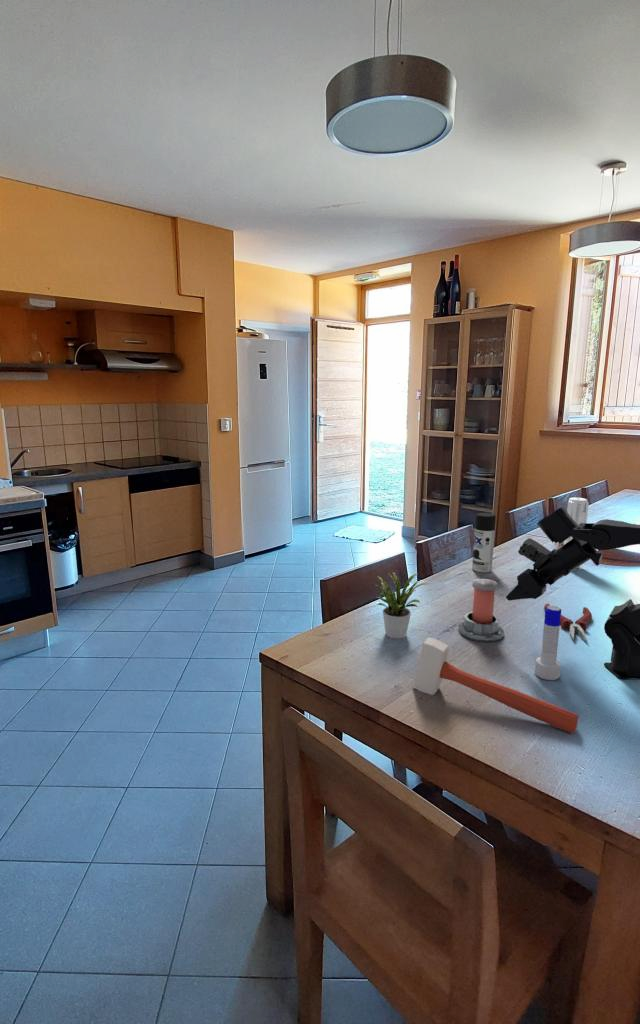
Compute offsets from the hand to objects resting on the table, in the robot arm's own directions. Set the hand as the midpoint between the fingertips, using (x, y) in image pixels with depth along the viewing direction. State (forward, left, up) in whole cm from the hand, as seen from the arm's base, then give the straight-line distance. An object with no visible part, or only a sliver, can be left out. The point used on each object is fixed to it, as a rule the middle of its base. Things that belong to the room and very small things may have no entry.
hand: (513, 593), depth 130 cm
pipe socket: (+5, +6, -12) cm, 15 cm away
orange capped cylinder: (+5, +6, -11) cm, 14 cm away
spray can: (+55, -12, -13) cm, 57 cm away
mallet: (-29, +15, -13) cm, 35 cm away
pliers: (+9, -19, -13) cm, 25 cm away
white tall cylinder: (+57, -45, -13) cm, 73 cm away
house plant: (+5, +26, -13) cm, 30 cm away
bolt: (-17, -1, -13) cm, 21 cm away
